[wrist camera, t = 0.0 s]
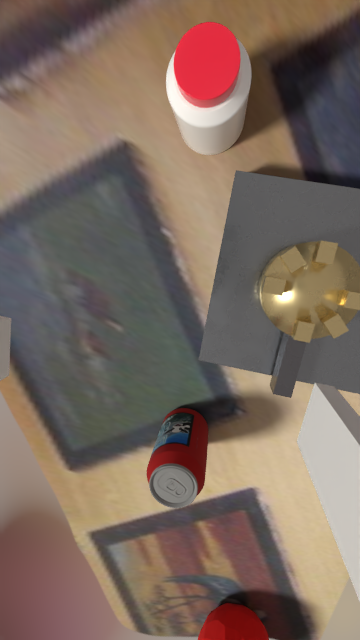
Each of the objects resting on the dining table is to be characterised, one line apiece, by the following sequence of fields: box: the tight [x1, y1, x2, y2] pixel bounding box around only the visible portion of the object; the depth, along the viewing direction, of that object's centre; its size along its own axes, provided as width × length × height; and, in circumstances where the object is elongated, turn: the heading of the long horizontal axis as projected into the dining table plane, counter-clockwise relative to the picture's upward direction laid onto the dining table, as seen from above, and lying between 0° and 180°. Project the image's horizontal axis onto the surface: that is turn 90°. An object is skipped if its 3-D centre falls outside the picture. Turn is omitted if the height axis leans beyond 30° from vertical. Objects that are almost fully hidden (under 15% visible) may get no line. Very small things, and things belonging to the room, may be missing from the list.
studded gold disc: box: [258, 241, 360, 398], centre depth 33 cm, size 17×10×4 cm, turn 170°
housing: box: [199, 171, 360, 394], centre depth 36 cm, size 22×21×4 cm
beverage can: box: [147, 408, 208, 508], centre depth 39 cm, size 7×7×12 cm
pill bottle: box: [166, 22, 252, 155], centre depth 30 cm, size 8×8×11 cm
